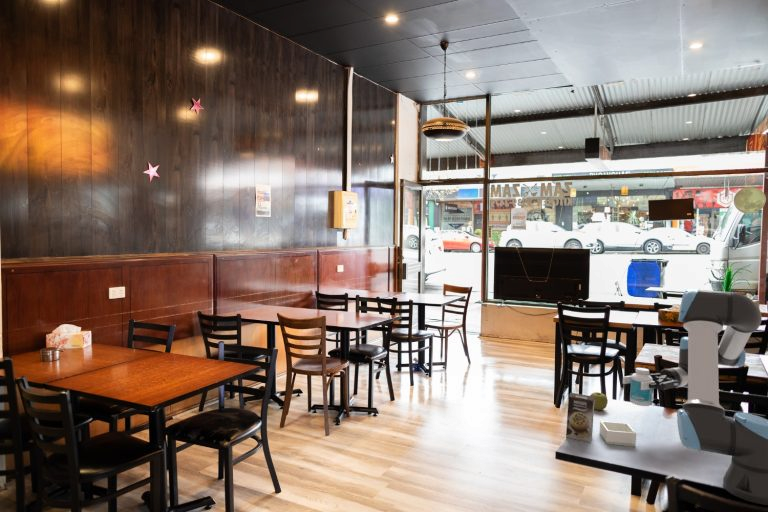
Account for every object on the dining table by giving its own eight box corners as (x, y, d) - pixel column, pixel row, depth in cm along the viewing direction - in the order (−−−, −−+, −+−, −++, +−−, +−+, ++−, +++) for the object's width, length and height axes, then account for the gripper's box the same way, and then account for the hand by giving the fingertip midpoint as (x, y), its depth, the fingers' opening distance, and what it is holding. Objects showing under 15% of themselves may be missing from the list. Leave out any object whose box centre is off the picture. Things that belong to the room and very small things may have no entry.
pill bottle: (653, 407, 194) (655, 372, 194) (632, 405, 196) (634, 370, 195) (648, 401, 202) (650, 367, 201) (627, 399, 203) (629, 365, 203)
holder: (635, 446, 191) (636, 433, 191) (606, 443, 192) (607, 430, 192) (627, 435, 201) (627, 423, 201) (599, 433, 202) (600, 421, 202)
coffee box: (565, 437, 197) (567, 396, 196) (568, 432, 203) (570, 391, 202) (591, 443, 193) (593, 400, 192) (592, 437, 198) (595, 395, 198)
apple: (589, 411, 229) (590, 395, 228) (588, 405, 236) (589, 390, 236) (607, 413, 226) (608, 397, 226) (606, 407, 234) (607, 392, 233)
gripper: (696, 394, 197) (655, 401, 187) (649, 380, 215) (610, 385, 206) (697, 375, 197) (657, 380, 187) (650, 362, 215) (611, 366, 205)
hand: (632, 383), depth 196 cm, fingers closed on pill bottle, 7 cm apart
